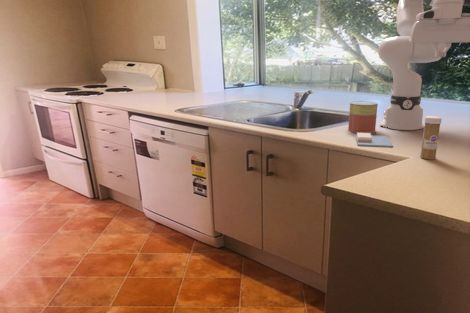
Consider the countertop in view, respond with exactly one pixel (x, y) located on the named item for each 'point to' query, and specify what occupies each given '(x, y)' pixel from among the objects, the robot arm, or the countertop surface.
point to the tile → (364, 137)
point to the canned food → (362, 116)
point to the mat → (377, 142)
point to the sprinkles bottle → (430, 137)
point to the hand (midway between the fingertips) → (440, 56)
